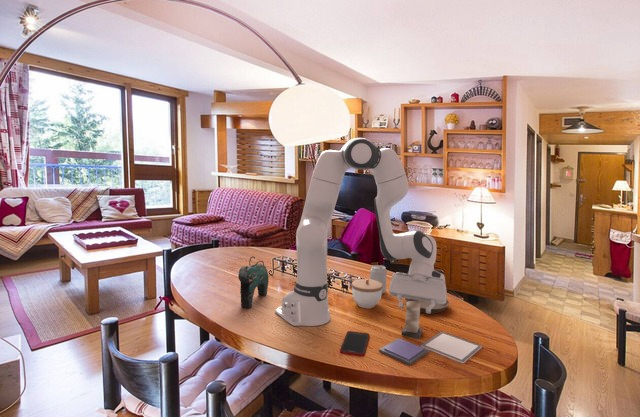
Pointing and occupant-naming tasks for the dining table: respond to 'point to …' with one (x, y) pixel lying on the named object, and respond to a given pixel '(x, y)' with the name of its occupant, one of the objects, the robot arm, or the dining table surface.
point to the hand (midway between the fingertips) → (414, 310)
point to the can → (379, 275)
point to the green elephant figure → (252, 282)
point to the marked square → (452, 347)
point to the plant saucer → (423, 304)
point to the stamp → (412, 320)
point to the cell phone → (355, 343)
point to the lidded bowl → (366, 292)
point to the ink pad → (404, 351)
